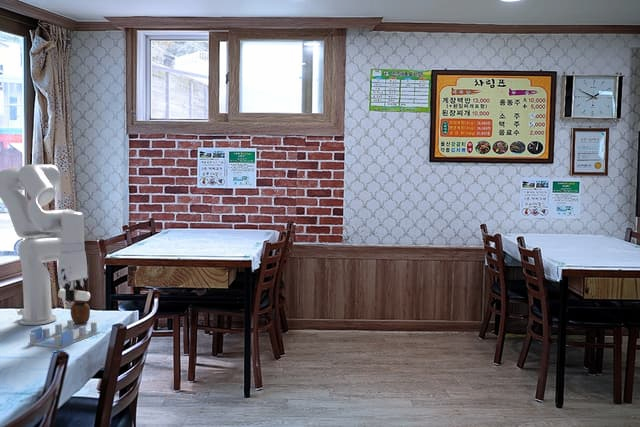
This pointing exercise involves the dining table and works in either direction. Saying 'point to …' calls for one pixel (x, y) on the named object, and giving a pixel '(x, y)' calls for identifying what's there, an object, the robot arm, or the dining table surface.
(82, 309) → the wooden figurine
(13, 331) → the dining table surface
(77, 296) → the white rounded bar
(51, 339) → the blue and grey tray
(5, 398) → the dining table surface
